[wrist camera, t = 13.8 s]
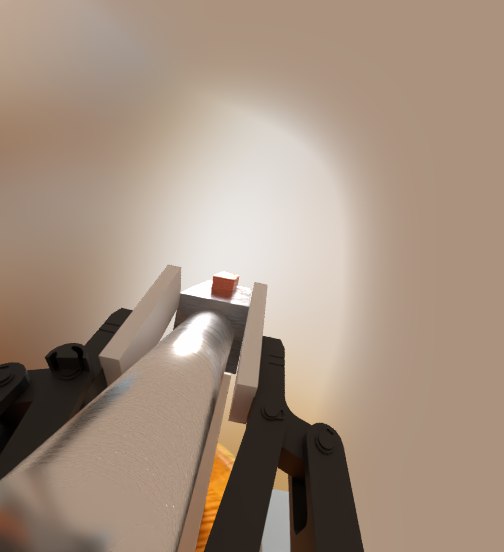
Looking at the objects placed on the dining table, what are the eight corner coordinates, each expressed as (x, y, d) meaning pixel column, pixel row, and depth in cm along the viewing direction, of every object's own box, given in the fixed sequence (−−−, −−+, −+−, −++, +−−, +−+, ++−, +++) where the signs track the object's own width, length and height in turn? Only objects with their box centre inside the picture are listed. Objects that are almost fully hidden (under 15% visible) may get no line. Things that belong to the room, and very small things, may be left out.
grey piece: (-101, 671, 4) (-57, 319, 4) (200, 321, 26) (211, 268, 25) (180, 725, 4) (252, 380, 4) (242, 330, 26) (253, 277, 25)
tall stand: (106, 610, 27) (152, 359, 25) (156, 490, 41) (188, 323, 39) (180, 624, 27) (231, 375, 25) (205, 499, 41) (239, 334, 39)
